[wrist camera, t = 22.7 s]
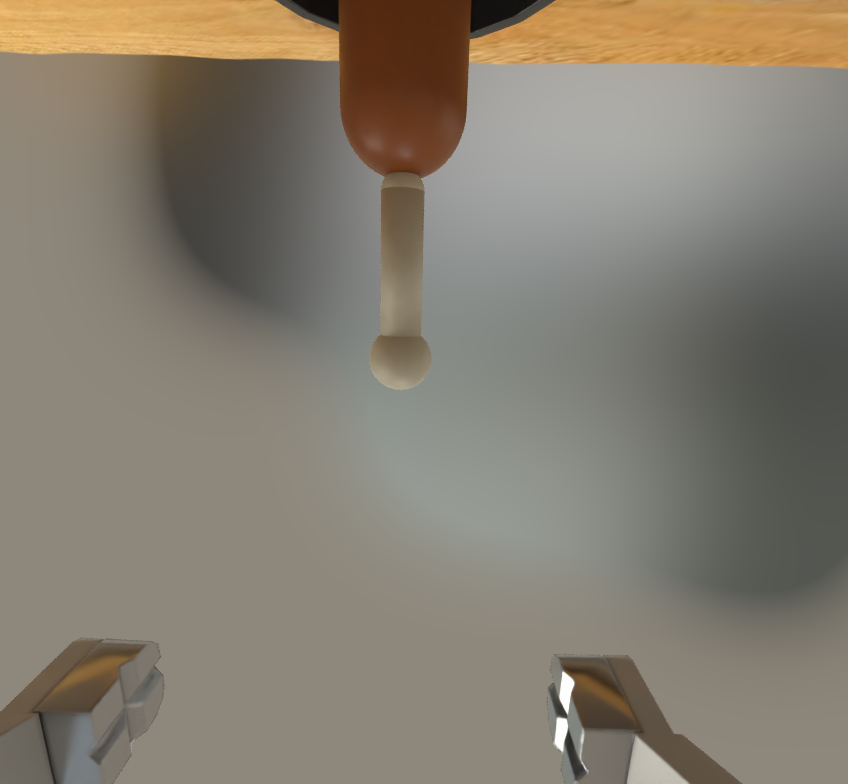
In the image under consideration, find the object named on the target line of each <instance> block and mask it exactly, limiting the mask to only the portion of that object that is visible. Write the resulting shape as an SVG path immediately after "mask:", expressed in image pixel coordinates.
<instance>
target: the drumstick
mask: <svg viewBox="0 0 848 784" xmlns="http://www.w3.org/2000/svg"><path fill="white" fill-rule="evenodd" d="M470 20H471V0H339V58H340V109H341V118H342V123H343V127H344V130H345V133H346V136H347V138H348V140H349V142H350V145H351V146H352V148H353V149H354V151H355V153H356V154H357V155H358V156H359V158H360V159H361V160H362V161H363V162H364V163H365V164H366V165H367V166H368V167H369V168H371V169H372V170H374V171H375V172H377V173H379V174H381V175H382V176H385V178H384V180H383V182H382V186H381V331H380V336H378V337H377V339H376V340H375V341H374V343H373V345H372V347H371V350H370V354H369V362H370V367H371V370H372V372H373V374H374V376H375V377H376V379H377V380H378V381H379V382H381V383H382V384H383V385H385V386H387V387H389V388H392V389H396V390H404V389H409V388H412V387H414V386H416V385H418V384H419V383H420V382H421V381H422V380H423V379H424V378H425V377H426V375H427V374H428V372H429V369H430V365H431V352H430V348H429V346H428V344H427V342H426V341H425V340H424V338H423V337H422V336H421V309H422V268H423V227H424V225H423V224H424V186H423V182H422V180H421V178H423V177H425V176H427V175H430V174H431V173H433V172H435V171H436V170H438V169H439V168H440V167H441V166H442V165H443V164H444V163H446V161H447V160H448V159H449V158H450V157H451V155H452V154H453V152H454V151H455V149H456V147H457V146H458V144H459V141H460V139H461V136H462V133H463V130H464V126H465V122H466V111H467V89H468V66H469V43H470Z"/></svg>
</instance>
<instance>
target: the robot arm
mask: <svg viewBox="0 0 848 784" xmlns="http://www.w3.org/2000/svg"><path fill="white" fill-rule="evenodd" d="M160 657H161V655H160V650H159V646H158V643H155V642H152V641H137V640H119V639H93V638H80V639H78V640H76V641H74V642H72V643H71V644H70V645H69V646H68V647H67V648H66V649H65V650H64V651H63V652H62V653H61V654H60V655H59V656H58V657H57V658H56V659H54V661H53V662H52V663H50V664H49V665H48V666H47V667H46V668H45V669H44V670H43V671H42V672H41V673H40V674H39V675H38V676H37V677H36V678H35V679H34V680H33V681H32V682H31V683H30V684H29V685H28V686H27V687H26V688H25V689H24V690H23V691H22V692H21V693H20V694H19V695H18V696H17V697H15V699H14V700H12V701H11V702H10V703H9V704H8V705H7V706H6V707H5V708H4V709H3V710H2V711H1V712H0V784H113V783H114V782H115V780H116V778H117V777H118V775H119V774H120V772H121V771H122V769H123V768H124V766H125V764H126V763H127V761H128V760H129V758H130V757H131V755H132V752H131V743H132V742H133V741H134V740H136V739H137V738H138V737H140V736H141V735H142V734H144V733H145V732H146V731H147V730H148V729H149V727H150V726H151V724H152V722H153V721H154V719H155V717H156V716H157V713H158V711H159V708H160V705H161V702H162V700H163V694H164V677H163V674H162V673H161V672H160V671H159V670H158V669H157V668H156V667H155V664H156V663H157V662H158V660H159V659H160ZM550 671H551V674H552V677H553V681H554V682H553V683H552V684H551V685H550V686H549V687H548V697H547V710H548V720H549V726H550V731H551V735H552V739H553V743H554V745H555V746H556V747H557V748H558V750H559V751H560V752H561V753H562V754H563V756H562V764H561V771H562V776H563V779H564V783H565V784H742V783H741V782H739V781H738V780H737V779H736V778H735V777H734V776H732V775H731V774H730V773H729V772H727V771H726V770H725V769H724V768H723V767H721V766H720V765H719V764H718V763H716V762H715V761H714V760H713V759H712V758H710V757H709V756H708V755H707V754H705V753H704V752H703V751H702V750H700V749H699V748H698V747H697V746H696V745H694V744H693V743H692V742H691V741H690V740H688V739H687V738H686V737H685V736H683V735H681V734H674V733H673V731H672V729H671V728H670V726H669V724H668V722H667V720H666V719H665V717H664V715H663V713H662V711H661V710H660V708H659V706H658V704H657V703H656V701H655V699H654V697H653V695H652V694H651V692H650V690H649V688H648V687H647V685H646V683H645V681H644V680H643V678H642V676H641V674H640V672H639V670H638V669H637V667H636V665H635V663H634V662H633V660H632V659H631V658H630V657H629V656H628V655H603V656H601V655H575V654H554V655H553V657H552V660H551V667H550Z"/></svg>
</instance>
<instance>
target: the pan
mask: <svg viewBox="0 0 848 784" xmlns="http://www.w3.org/2000/svg"><path fill="white" fill-rule="evenodd" d="M275 1H277V2H278V3H280V4H282V5H283V6H285V7H286V8H288V9H290V10H291V11H293V12H294V13H296V14H298V15H299V16H302V17H303V18H305V19H308V20H311V21H313V22H316V23H318V24H321V25H323V26H326V27H328V28H331V29H334V30H336V31H339V0H275ZM554 1H555V0H471V20H470V39H473V38H478V37H482V36H485V35H487V34H490V33H493V32H495V31H498V30H501V29H504V28H506V27H509V26H512V25H515V24H517V23H520V22H521V21H524V20H525V19H527V18H529V17H530V16H532V15H533V14H535V13H536V12H538V11H540V10H541V9H543V8H544V7H546V6H547V5H549V4H551V3H552V2H554Z"/></svg>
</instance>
